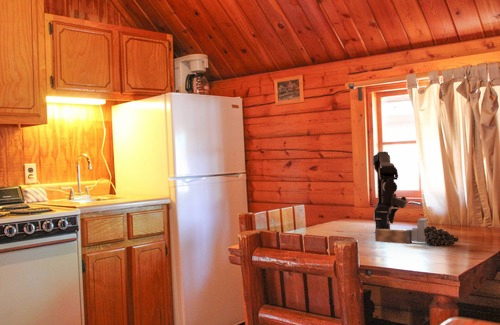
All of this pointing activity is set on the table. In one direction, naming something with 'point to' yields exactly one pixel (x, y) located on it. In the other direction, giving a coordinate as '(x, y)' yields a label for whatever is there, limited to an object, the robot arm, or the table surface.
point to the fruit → (438, 236)
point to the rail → (393, 236)
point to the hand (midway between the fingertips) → (388, 224)
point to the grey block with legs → (419, 230)
